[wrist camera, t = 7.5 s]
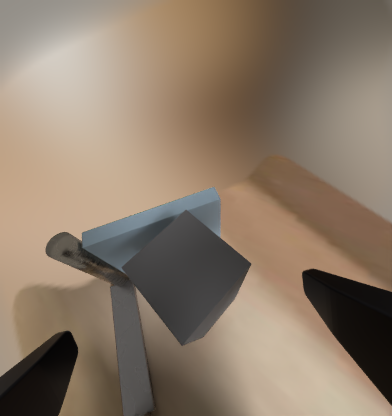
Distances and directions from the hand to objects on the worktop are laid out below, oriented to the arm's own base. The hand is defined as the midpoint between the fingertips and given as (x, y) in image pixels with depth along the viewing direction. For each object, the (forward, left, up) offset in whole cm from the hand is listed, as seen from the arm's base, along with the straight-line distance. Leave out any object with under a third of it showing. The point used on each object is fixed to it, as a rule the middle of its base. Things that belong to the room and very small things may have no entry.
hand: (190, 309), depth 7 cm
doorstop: (+2, 0, -13) cm, 13 cm away
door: (+8, +1, -13) cm, 15 cm away
